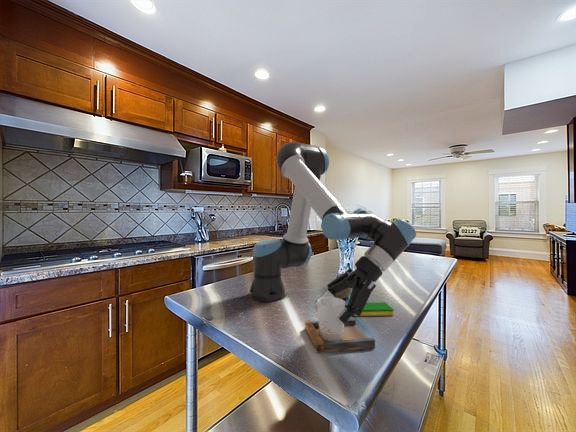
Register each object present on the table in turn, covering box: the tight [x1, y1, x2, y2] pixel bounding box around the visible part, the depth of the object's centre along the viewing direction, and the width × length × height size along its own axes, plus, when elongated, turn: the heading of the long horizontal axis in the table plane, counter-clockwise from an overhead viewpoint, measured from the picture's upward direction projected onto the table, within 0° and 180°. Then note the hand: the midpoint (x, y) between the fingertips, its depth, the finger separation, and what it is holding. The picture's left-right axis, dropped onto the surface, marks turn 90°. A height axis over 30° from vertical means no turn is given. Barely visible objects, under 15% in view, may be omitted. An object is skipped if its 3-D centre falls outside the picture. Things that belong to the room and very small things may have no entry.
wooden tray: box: [304, 317, 376, 354], centre depth 74 cm, size 16×13×3 cm
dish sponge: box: [354, 301, 395, 317], centre depth 92 cm, size 7×14×2 cm, turn 92°
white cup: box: [317, 296, 346, 341], centre depth 73 cm, size 8×8×10 cm
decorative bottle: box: [335, 272, 352, 299], centre depth 118 cm, size 26×8×7 cm, turn 165°
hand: (323, 318), depth 73 cm, fingers open, 13 cm apart
